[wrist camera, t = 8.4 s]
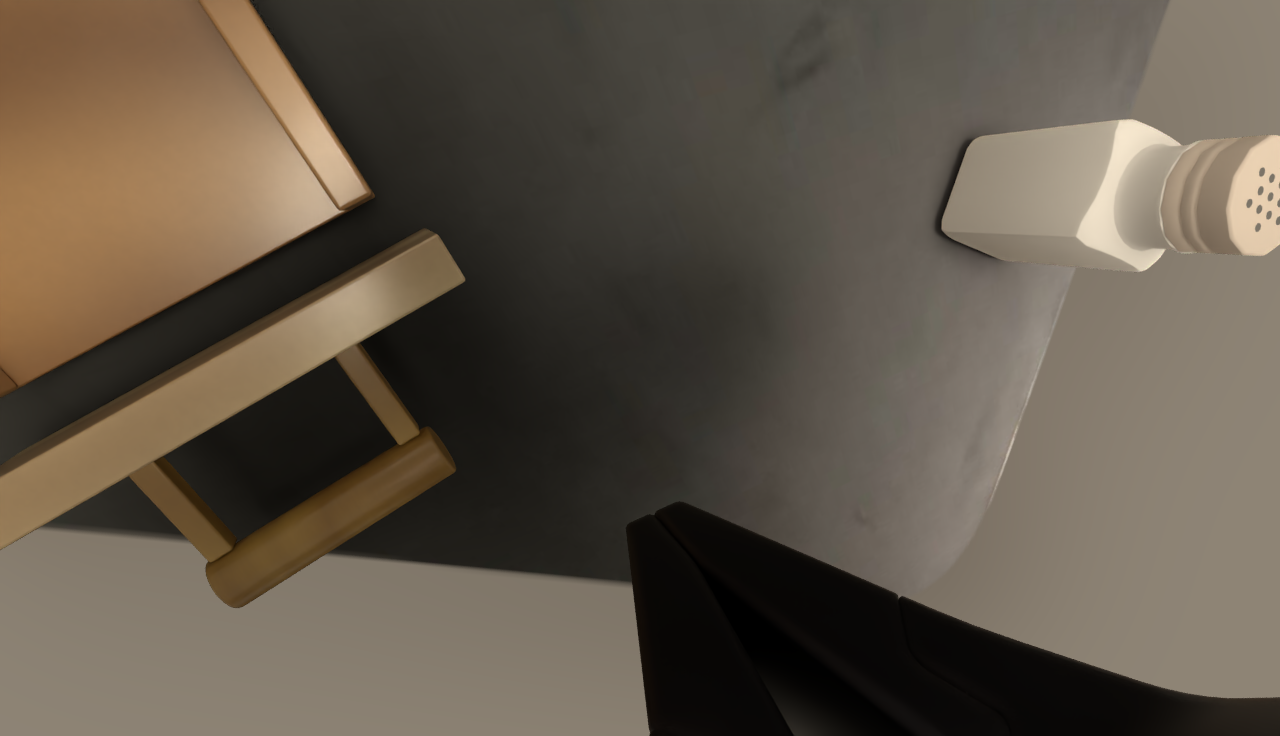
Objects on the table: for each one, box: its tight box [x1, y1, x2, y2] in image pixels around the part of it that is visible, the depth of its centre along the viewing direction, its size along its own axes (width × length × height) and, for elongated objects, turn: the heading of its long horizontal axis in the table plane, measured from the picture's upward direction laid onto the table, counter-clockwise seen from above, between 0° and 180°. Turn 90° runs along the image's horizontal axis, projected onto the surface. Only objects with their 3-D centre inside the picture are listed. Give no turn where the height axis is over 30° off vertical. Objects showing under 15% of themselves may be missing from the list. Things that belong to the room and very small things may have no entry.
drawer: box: [0, 0, 465, 608], centre depth 15 cm, size 18×11×5 cm, turn 28°
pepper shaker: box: [942, 119, 1280, 272], centre depth 23 cm, size 4×4×10 cm
